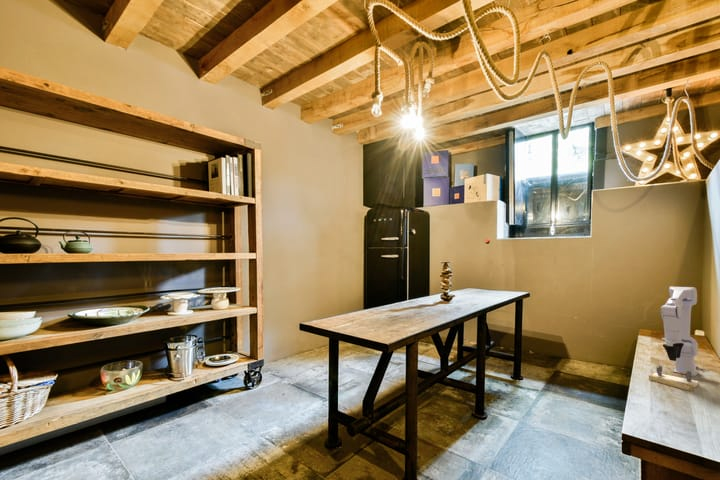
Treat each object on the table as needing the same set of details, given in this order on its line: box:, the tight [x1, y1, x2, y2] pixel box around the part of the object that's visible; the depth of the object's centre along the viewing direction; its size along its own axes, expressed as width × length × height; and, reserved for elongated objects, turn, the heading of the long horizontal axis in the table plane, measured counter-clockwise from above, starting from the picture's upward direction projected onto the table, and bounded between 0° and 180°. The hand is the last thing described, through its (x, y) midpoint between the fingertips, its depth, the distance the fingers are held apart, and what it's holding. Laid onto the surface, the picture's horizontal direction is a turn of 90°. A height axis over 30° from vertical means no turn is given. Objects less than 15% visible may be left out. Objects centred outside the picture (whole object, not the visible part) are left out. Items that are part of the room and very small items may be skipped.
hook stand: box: [651, 365, 699, 388], centre depth 151 cm, size 7×15×5 cm, turn 35°
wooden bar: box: [648, 374, 694, 392], centre depth 146 cm, size 2×15×2 cm, turn 20°
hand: (674, 359), depth 153 cm, fingers open, 7 cm apart
